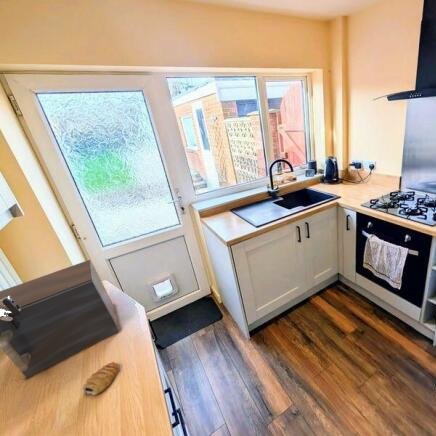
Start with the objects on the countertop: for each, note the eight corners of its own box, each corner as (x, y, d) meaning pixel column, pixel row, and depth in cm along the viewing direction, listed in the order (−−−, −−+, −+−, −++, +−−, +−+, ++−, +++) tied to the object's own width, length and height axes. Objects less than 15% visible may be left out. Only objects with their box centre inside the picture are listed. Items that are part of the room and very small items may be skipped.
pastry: (109, 364, 82) (104, 356, 80) (125, 367, 81) (121, 359, 79) (82, 393, 74) (76, 385, 72) (100, 397, 72) (94, 389, 71)
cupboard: (119, 329, 96) (91, 279, 86) (27, 375, 81) (-18, 322, 71) (114, 305, 109) (89, 259, 99) (34, 341, 94) (-4, 292, 84)
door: (121, 340, 90) (93, 289, 80) (24, 392, 76) (-26, 337, 66) (119, 329, 96) (92, 279, 86) (27, 375, 81) (-18, 322, 71)
